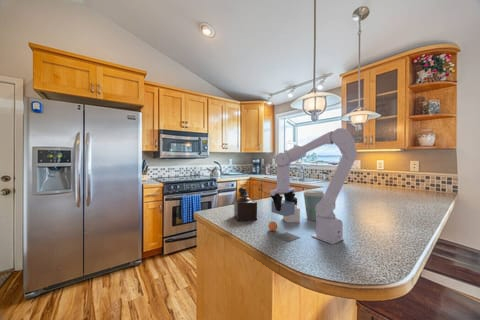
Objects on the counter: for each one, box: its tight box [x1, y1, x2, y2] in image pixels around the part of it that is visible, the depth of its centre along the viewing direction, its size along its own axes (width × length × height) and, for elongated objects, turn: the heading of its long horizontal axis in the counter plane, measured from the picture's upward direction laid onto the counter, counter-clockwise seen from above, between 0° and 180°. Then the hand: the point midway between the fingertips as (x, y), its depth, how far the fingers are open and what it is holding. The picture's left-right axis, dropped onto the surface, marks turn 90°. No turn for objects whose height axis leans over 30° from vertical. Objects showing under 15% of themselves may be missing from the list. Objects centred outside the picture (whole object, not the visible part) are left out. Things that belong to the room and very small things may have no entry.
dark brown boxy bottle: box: [233, 186, 258, 222], centre depth 106 cm, size 16×11×18 cm
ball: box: [267, 221, 278, 232], centre depth 90 cm, size 4×4×4 cm
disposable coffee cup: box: [303, 189, 325, 221], centre depth 107 cm, size 11×11×15 cm
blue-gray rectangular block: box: [271, 199, 295, 217], centre depth 92 cm, size 9×6×5 cm
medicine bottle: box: [282, 196, 301, 223], centre depth 104 cm, size 7×7×12 cm
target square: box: [275, 231, 301, 243], centre depth 83 cm, size 7×7×1 cm
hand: (283, 209), depth 92 cm, fingers closed on blue-gray rectangular block, 6 cm apart
